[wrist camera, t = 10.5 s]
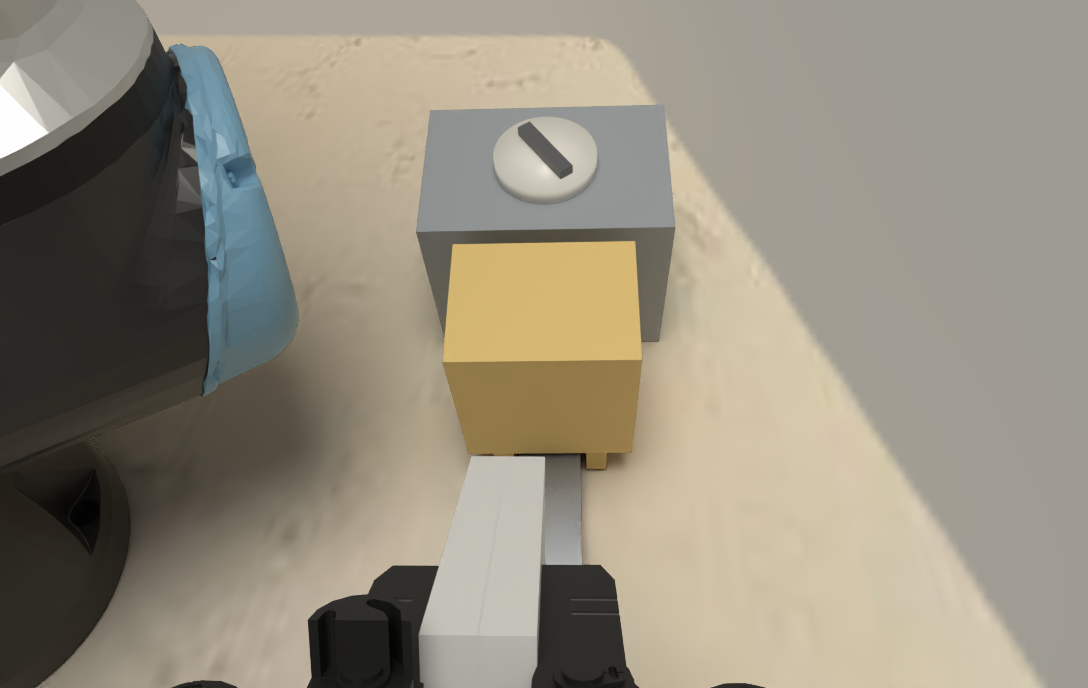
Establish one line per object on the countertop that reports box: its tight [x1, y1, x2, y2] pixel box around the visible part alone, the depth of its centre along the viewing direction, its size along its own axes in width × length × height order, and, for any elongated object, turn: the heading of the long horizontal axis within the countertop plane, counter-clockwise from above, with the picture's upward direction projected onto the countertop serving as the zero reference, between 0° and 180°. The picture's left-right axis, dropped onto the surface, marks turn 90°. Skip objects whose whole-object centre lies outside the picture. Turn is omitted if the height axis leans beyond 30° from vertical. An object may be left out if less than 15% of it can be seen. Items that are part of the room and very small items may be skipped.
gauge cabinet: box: [416, 105, 675, 341], centre depth 44 cm, size 8×12×11 cm, turn 89°
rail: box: [520, 453, 582, 565], centre depth 39 cm, size 26×3×2 cm, turn 179°
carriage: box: [443, 241, 642, 469], centre depth 40 cm, size 6×8×11 cm
